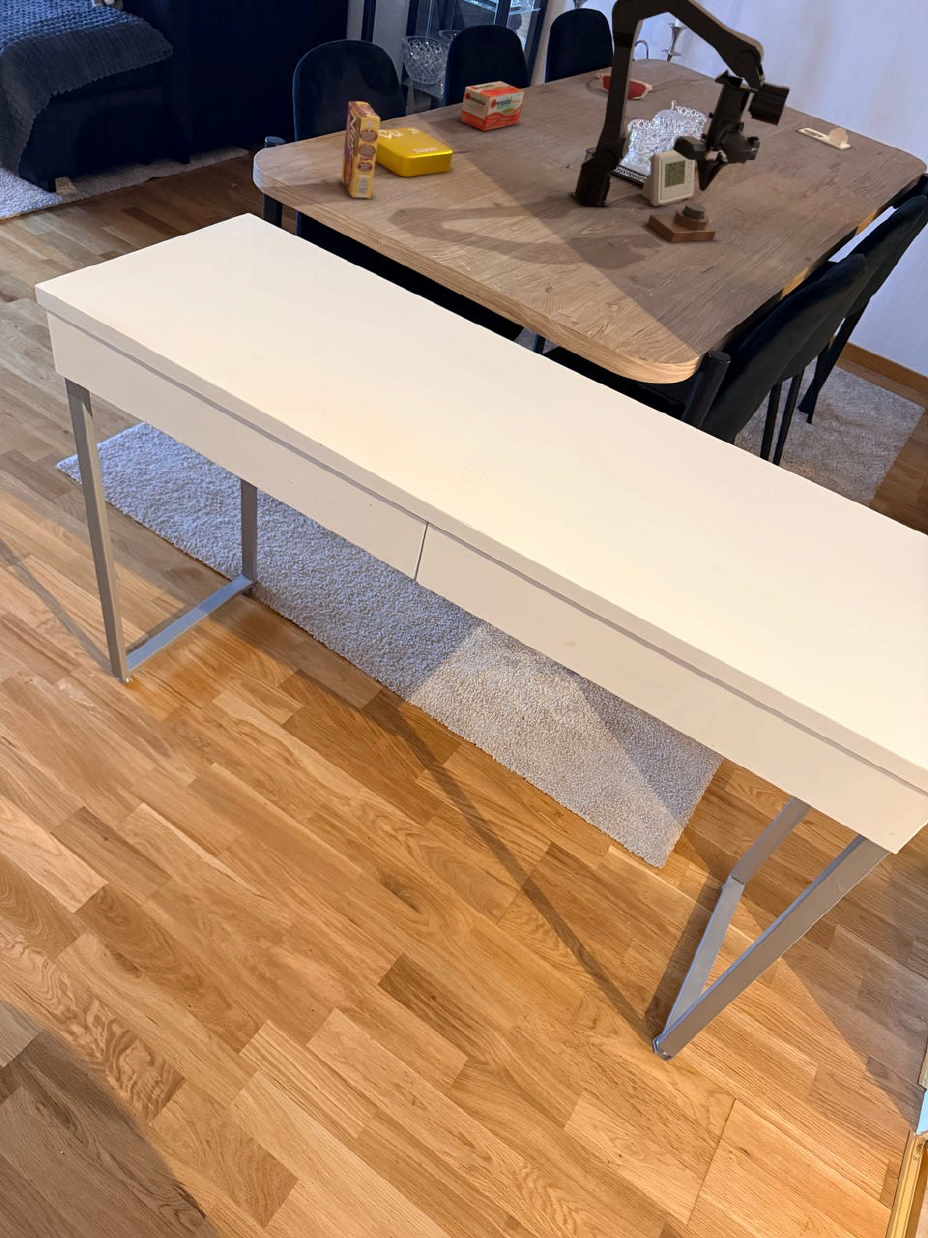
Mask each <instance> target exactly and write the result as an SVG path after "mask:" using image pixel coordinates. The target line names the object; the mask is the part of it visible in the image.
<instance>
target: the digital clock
mask: <svg viewBox="0 0 928 1238" xmlns="http://www.w3.org/2000/svg"><path fill="white" fill-rule="evenodd" d="M695 167H696V160H689V159H687V158H685V157H684V156H682V155H681V154H679V153H677V152H676V151H674V150H673V148H672V149H668V150H662V152H661V151H660V152H656V153H654V154H652V155H651V157H650V173H649V174H648V175H646V178H645V181H644V184H643V188H642V190H641V194H640V195H641V196H642V197H643V198H645V199H647V200H649V203H650V205H651V206H653V207H658V206H659V207H660V206H667V205H670V204H674V203H678V202H682V201H684V200H687V199H690V198H691V197H692V196H693V195H694V191H695V190H694V189H695V188H694V187H695Z"/></svg>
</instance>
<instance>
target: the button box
mask: <svg viewBox="0 0 928 1238" xmlns="http://www.w3.org/2000/svg"><path fill="white" fill-rule="evenodd" d="M684 208H685V206H684V207H683V206H681V207H678V208H677V209H676V210H675V213H661V214H659V213H657V214H650V215H649V217H648V220H647V225H648V227H650V228H651V229H653V230H654V231H655V232H656V233H658V234H659V235H661V237H663V238H665V240H667V241H668V242H670V243H686V242H705V241H706V242H709V241H714V238H715V236H716V231H717V230H716V229H714V228H713V227H712V226H710V225H709V222H710V216H709V215H708V214H707V213H705V212H704V215H703V218H702V219H694V218H690V217H688V216H686V215H684V214H683V211H684Z"/></svg>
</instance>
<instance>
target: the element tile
mask: <svg viewBox="0 0 928 1238" xmlns="http://www.w3.org/2000/svg"><path fill="white" fill-rule="evenodd" d="M452 158H453V149H452V148H451V147H449V146H447V145H445V144H444V143H442V142H440V141H438V140H437V139H435V138H434V137H432V136H430V135H428V134H426V133H425V132H423V131H422V130H420V129H418V128H417V127H413V126H411V127H410V126H409V127H399V128H389V129H379V134H378V142H377V150H376V158H375V163H378V165H381V166H383V168H385V169H387V170H389V171H390V172H392V173H393V174H395V175H397V176H399V177H404V178H411V177H418V176H425V175H432V174H441V173H447V172H449V171H450V170H451V164H452Z"/></svg>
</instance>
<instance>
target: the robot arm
mask: <svg viewBox="0 0 928 1238" xmlns="http://www.w3.org/2000/svg"><path fill="white" fill-rule="evenodd" d="M666 13H668V14H671V15H672V16H673V17H674V18H675V19H676V20H677V21H679V22H680V23H682V25H684V26H686V27H687V28H688V29H689V30H691V31H692V32H693V33H694V34H696V35H697V36H698V37H699V38H700V39H702V40H703V41H704V42H705V43H707V44H708V45H710V47H712V48H713V49H714V50H715V51H716V52H717V53H718V55H719V56H720V58H721V59H722V61H723V63H724V64H725V65H726V66H727V67H728V68H729V69H728V68H726V69H725V70H724V71H723V72H721V73H720V74H717V76H716V77H715V79H714V82H715V83H716V84H719V85H722V87H721V90H720V93H719V96H718V99H717V102H716V105H715V108H714V111H709V112H708V118H709V119H710V123H709V126H708V129H707V132H702V134H701V138H700V139H701V140H703V141H704V142H703V141H701V140H699V139H698V138H696V137H695V136H693V135H680V136H678V137H677V138H676V139H675V140H674V141H675V142H674V144H673V148H672V149H673V150H674V151H676V152H677V153H679V154H681V155H682V156H684V157H685V158H687V159H689V160H695V163H696V166H697V177H698V179H697V180H698V189H699V190H700V191H701V192H705V191H706V190H707V189H708V187H709V186H710V185H711V183H712V182H713V180H714V179H715V178H716V177H717V176H718V174H719V173H720V171H722V169H723V168H724V167H726V166H728V165H735V164H742V165H745V164H746V163H747V161H755V160H756V157H757V155H758V153H759V149H760V145H761V143H762V140H761V138H760V137H759V135H751V136H749V135H745V133H744V128H745V121H744V120H742V118H743V115H744V112H745V110H746V108H747V104H748V101H749V98H750V96H751V94H753V95H752V97H751V101H750V102H749V105H748V109H747V112H748V113H749V116H750V119H751V120H755V121H759V122H762V123H765V124H768V125H771V126H772V125H773V126H775V127H778V125H779V122H780V120H781V118H782V114H783V112H784V110H785V107H786V105H787V104H786V102H787V99H788V97H789V94H790V91H791V87H789V86H786V85H778V84H774V83H771V82H768V81H766V77H765V76H766V74H765V72H764V68H763V65H762V62H763V60H764V56H765V54H764V53H765V51H764V47H763V45H762V43H761V42H760V41H759V40H757V39H755V38H753V37H751V36H749V35H747V34H745V33H743V32H740V31H737V30H736V29H735V30H734V29H733V28H730V27H729V26H727V25H726V24H725V23H724V22H723V21H721V20H720V19H719V18H717V17H716V16H715V15H713V14H712V13H711V12H709V11H708V10H707V8H705V7H704V6H702V5H701V4H699V2H697V0H616V1H615V2H614V4H613V6H612V9H611V34H612V42H613V54H612V62H611V70H610V74H611V77H610V85H609V92H607V94H608V95H607V99H606V108H605V109H606V110H605V116H604V123H603V127H602V129H601V132H600V135H599V138H598V141H597V143H596V147H595V151H593V152H591V153H590V154H589V156H587V158H586V159H585V160H584V161H583V162H582V163H581V165H580V171H579V174H578V178H577V182H576V186H575V190H574V191H571V192H570V195H571V196H572V197H573V198H574V199H575V200H576V202H578V204H579V205H581V206H583V207H600V208H602V207H603V208H607V206H608V204H607V203H606V201H607V198H608V195H609V191H610V188H611V184H612V183H611V178H612V175H611V174H610V173H611V172H614V171H615V170H616V169H617V168H618V167H619V165H620V164H621V163H622V162H623V161H624V159H625V158H626V156H627V155H628V154H629V152H630V147H629V145H630V140H631V137H632V131H626V126H625V125H626V124H625V118H626V113H627V104H628V99H629V98H628V91H629V84H630V79H631V75H632V69H633V61H634V54H635V48H636V45H637V42H638V39H639V37H640V34H641V31H642V27H643V24H644V21H645V20H646V19H650V18H653V17H656V16H659V15H663V14H666ZM729 70H730V71H731V72H732V73H733V75H732V74H731V72H730V71H729ZM744 81H745V82H746V83H744Z"/></svg>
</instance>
